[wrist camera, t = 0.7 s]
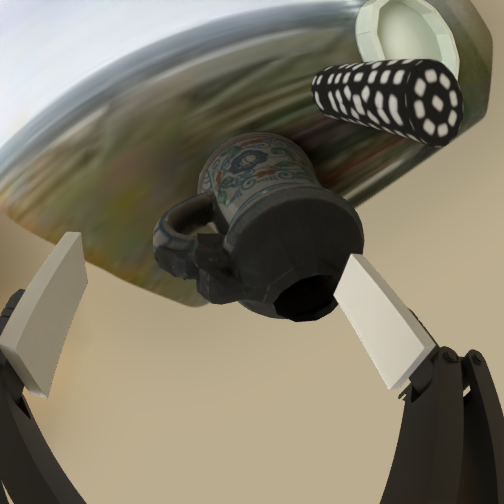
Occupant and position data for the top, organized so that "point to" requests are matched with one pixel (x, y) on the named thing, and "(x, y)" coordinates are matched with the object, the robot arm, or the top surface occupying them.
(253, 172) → the beer stein
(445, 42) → the bowl
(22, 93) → the top surface
